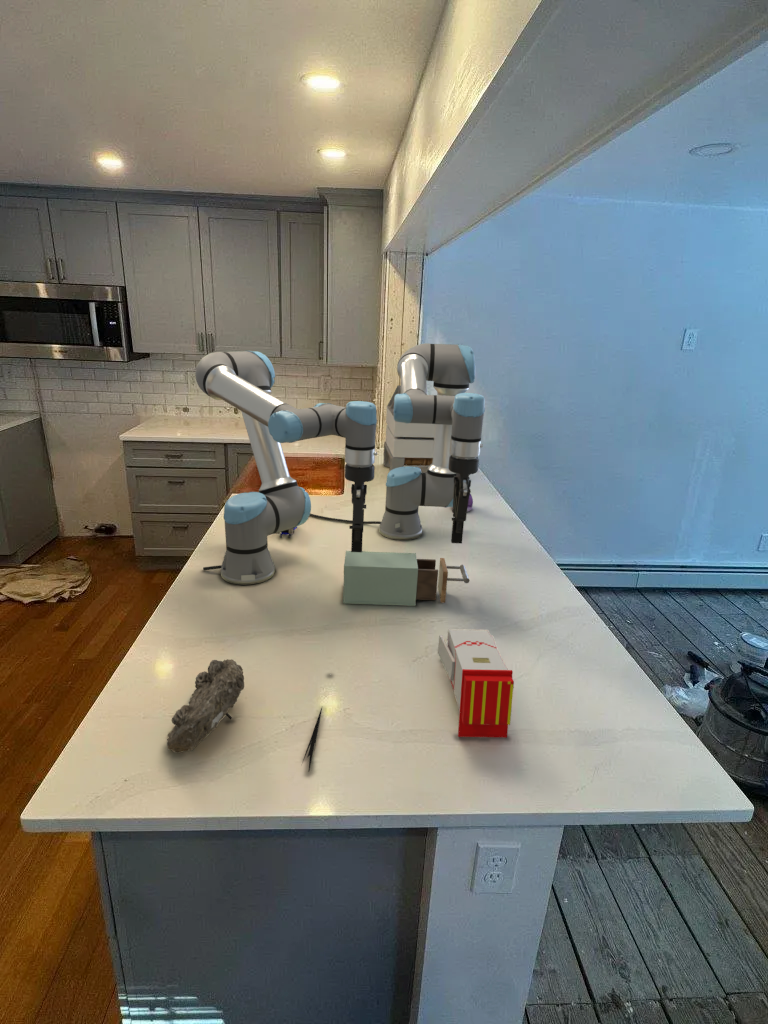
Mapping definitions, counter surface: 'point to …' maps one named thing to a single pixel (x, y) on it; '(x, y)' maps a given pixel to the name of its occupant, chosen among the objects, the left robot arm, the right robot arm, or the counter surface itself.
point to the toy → (478, 682)
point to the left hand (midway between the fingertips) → (357, 541)
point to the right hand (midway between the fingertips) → (456, 542)
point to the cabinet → (380, 578)
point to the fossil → (206, 705)
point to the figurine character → (287, 532)
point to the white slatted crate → (407, 441)
